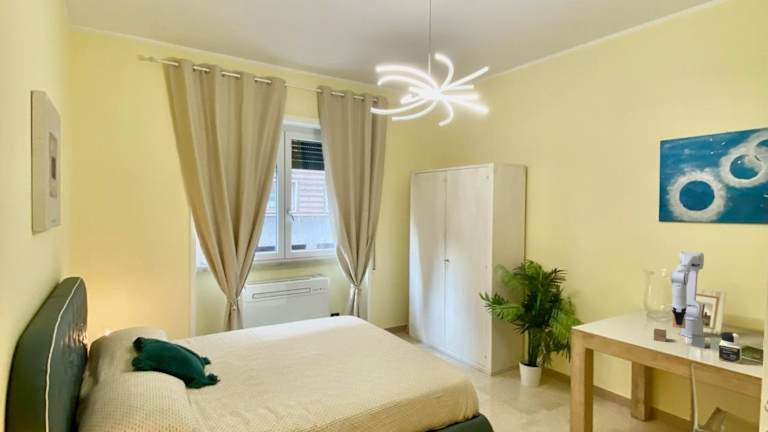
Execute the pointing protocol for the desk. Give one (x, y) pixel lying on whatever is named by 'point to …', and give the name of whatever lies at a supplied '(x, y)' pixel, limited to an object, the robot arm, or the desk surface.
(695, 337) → the slate cube
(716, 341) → the sage cube
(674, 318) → the terracotta cube
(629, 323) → the desk surface
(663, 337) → the walnut cube
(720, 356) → the medicine bottle
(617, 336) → the desk surface
